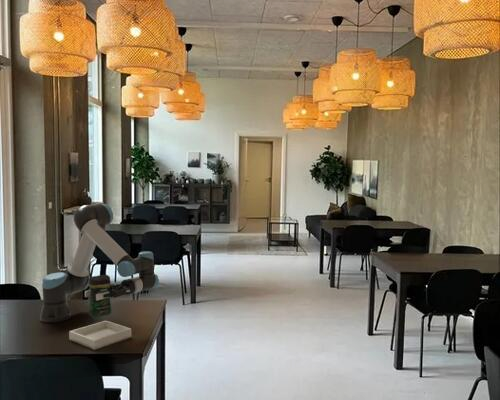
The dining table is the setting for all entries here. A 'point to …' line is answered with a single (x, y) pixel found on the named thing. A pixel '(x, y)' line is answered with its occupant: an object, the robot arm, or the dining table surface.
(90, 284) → the coffee jar
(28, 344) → the dining table surface
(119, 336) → the tray
